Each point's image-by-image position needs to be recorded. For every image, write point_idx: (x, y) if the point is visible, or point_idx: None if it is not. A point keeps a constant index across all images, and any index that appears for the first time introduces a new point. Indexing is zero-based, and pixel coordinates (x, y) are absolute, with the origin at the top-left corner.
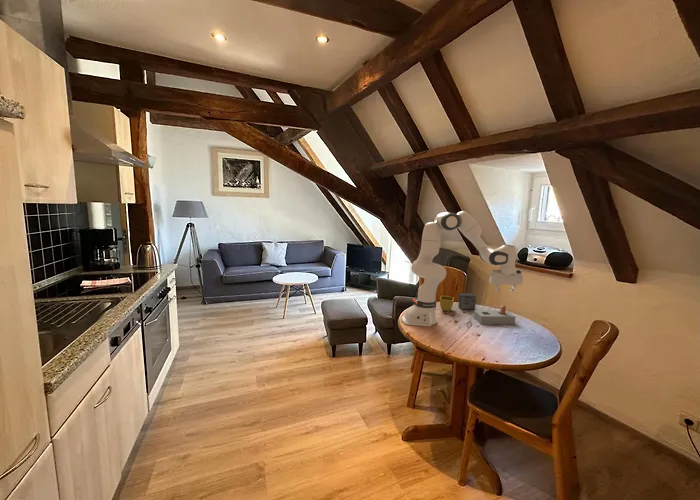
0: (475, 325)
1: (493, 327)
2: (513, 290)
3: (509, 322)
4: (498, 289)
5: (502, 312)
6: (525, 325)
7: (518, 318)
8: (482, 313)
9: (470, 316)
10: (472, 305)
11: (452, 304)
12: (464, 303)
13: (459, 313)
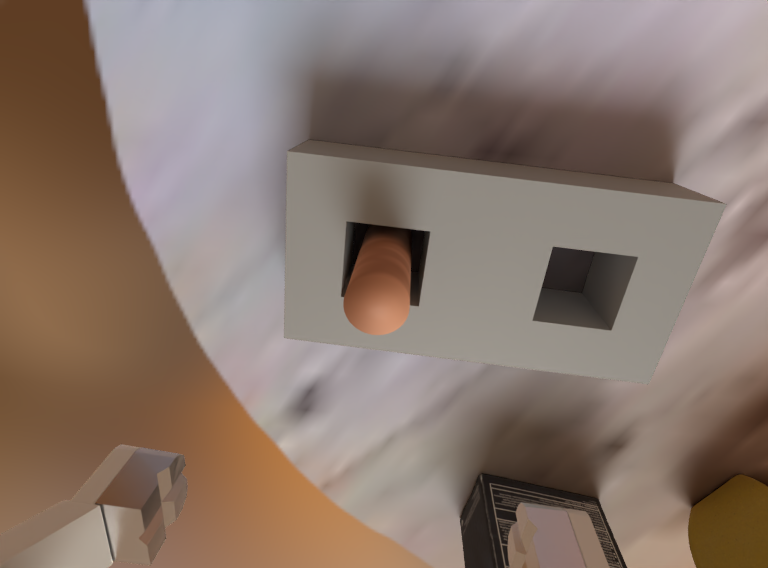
0: (763, 147)
1: (604, 70)
2: (117, 458)
3: (363, 148)
4: (558, 541)
5: (400, 252)
6: (214, 90)
7: (195, 268)
8: (629, 288)
9: None
10: (512, 513)
11: (750, 533)
12: None
13: (675, 430)
